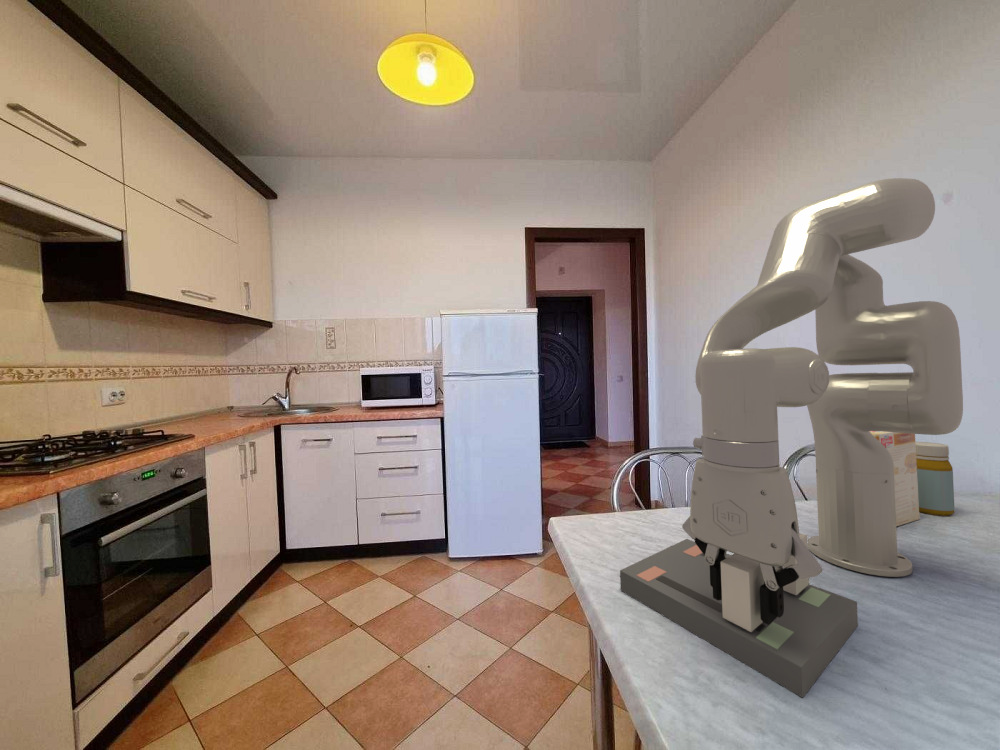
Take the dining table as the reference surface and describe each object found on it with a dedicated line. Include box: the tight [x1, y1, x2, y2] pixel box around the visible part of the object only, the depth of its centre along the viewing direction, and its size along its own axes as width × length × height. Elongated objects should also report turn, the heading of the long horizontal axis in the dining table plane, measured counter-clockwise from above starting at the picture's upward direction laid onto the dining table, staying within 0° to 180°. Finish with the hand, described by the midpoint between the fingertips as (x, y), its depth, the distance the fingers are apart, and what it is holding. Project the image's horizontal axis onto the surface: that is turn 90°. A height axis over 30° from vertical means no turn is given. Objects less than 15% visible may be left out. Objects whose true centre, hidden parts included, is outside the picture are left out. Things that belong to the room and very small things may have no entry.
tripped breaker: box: [721, 553, 764, 632], centre depth 42 cm, size 4×3×7 cm
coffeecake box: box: [869, 431, 921, 527], centre depth 76 cm, size 15×7×20 cm, turn 110°
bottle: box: [915, 441, 956, 517], centre depth 80 cm, size 7×7×15 cm
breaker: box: [783, 532, 810, 595], centre depth 48 cm, size 4×3×7 cm
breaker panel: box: [619, 538, 859, 698], centre depth 49 cm, size 18×22×3 cm
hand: (745, 605), depth 42 cm, fingers open, 4 cm apart
